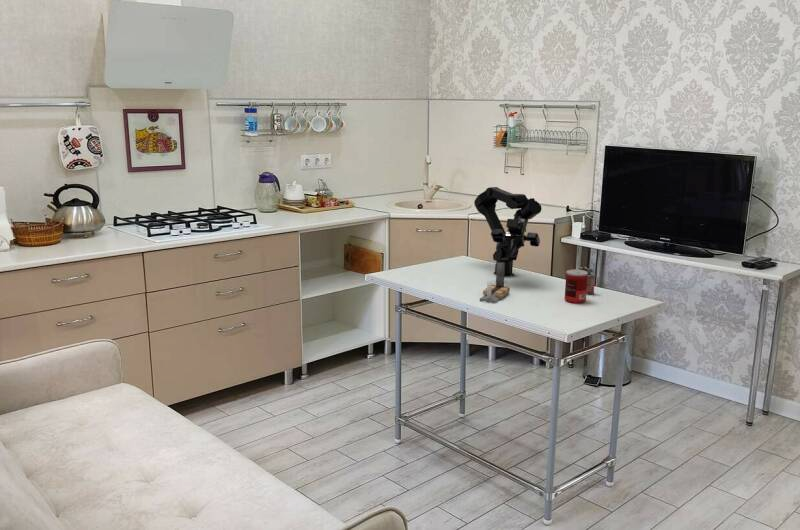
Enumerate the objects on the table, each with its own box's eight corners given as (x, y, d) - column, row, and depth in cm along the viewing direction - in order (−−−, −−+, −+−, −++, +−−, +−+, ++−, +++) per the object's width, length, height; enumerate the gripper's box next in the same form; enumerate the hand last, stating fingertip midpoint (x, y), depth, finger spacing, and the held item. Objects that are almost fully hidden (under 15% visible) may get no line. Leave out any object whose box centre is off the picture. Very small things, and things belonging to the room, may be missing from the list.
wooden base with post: (492, 288, 271) (493, 261, 269) (509, 290, 268) (510, 263, 266) (482, 294, 262) (483, 266, 260) (500, 297, 259) (502, 269, 257)
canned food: (586, 299, 263) (588, 270, 260) (584, 304, 255) (587, 275, 253) (565, 297, 265) (567, 268, 263) (563, 302, 258) (565, 273, 255)
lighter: (572, 291, 273) (574, 266, 270) (576, 290, 275) (578, 265, 273) (591, 295, 267) (593, 270, 265) (595, 294, 270) (597, 268, 267)
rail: (494, 291, 272) (494, 273, 270) (509, 293, 269) (510, 275, 268) (479, 301, 259) (480, 282, 257) (495, 303, 256) (495, 284, 254)
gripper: (493, 208, 279) (482, 241, 272) (539, 212, 271) (529, 245, 264) (499, 225, 288) (488, 257, 281) (544, 229, 280) (534, 262, 273)
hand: (509, 255), depth 274 cm, fingers closed
